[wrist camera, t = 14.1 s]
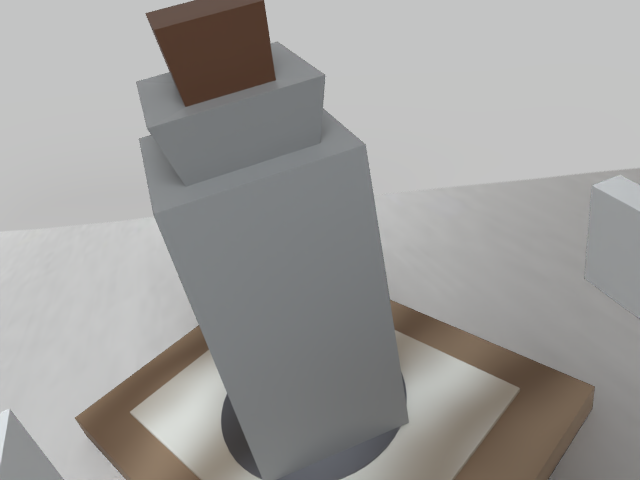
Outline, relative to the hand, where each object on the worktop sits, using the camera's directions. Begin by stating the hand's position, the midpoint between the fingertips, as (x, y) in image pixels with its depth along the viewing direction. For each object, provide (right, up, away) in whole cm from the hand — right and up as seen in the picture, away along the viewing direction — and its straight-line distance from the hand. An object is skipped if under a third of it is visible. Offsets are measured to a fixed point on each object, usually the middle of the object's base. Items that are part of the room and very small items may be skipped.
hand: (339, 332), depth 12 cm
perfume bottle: (-1, -6, +15) cm, 16 cm away
